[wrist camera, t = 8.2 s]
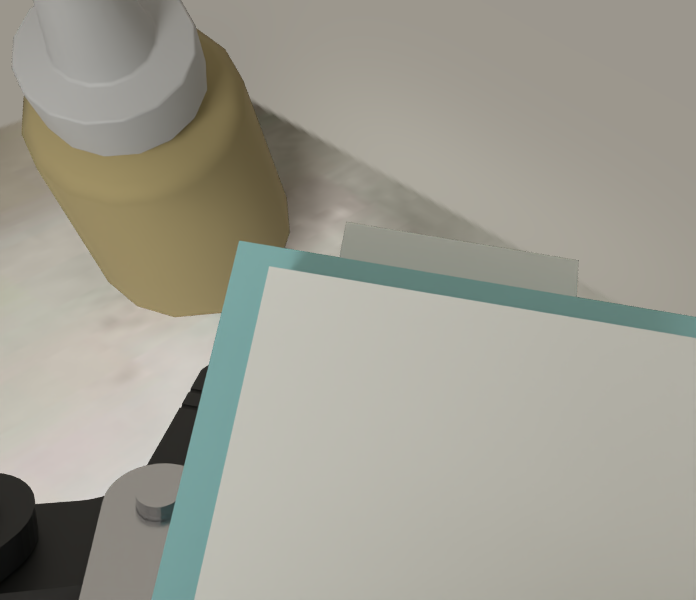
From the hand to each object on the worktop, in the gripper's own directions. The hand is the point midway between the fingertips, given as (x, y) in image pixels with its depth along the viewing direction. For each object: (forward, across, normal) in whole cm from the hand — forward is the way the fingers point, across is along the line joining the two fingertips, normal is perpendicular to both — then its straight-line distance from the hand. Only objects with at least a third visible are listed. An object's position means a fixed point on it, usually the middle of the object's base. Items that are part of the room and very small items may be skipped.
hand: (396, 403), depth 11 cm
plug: (+3, 0, +5) cm, 6 cm away
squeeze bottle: (+17, +8, +6) cm, 20 cm away
